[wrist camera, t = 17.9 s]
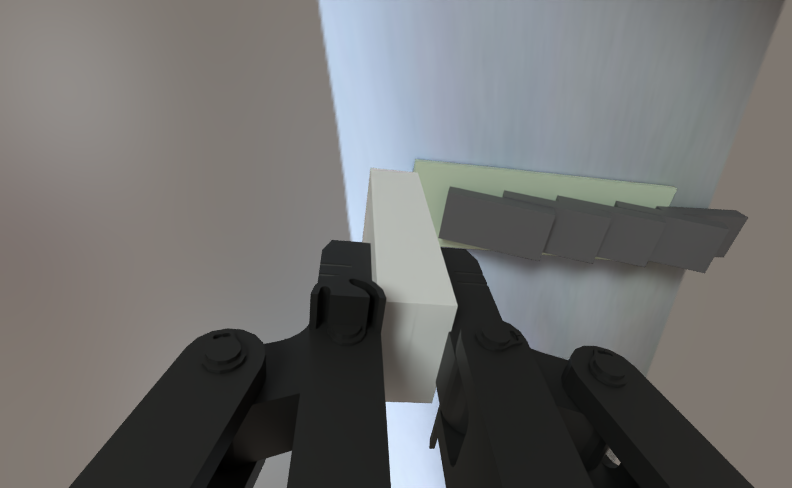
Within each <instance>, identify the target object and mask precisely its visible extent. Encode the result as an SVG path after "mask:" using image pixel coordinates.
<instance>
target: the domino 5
mask: <svg viewBox="0 0 792 488" xmlns="http://www.w3.org/2000/svg"><path fill="white" fill-rule="evenodd" d="M655 209H659V210H664V211H669V212H674V213H679V214H684V215H689V216H694V217H698V218H703V219H708V220H713V221H718V222H723V223H724V224H725V225H726V226H727V227H728V228H729V232H728V233H727V235H726V237H725V239H724V240H723V242H722V244H721V246H720V247H719V249H718V251H717V253H716V254H715V256H714V257H724V256H725V254H726V253H727V251H728V250H729V248H730V246H731V245H732V243H733V241H734V240H735V238H736V237H737V235H738V233H739V231H740V230H741V228H742V227H743V225H744V224H745V222H746V220H747V219H748V217H746V216H745V215H743V214H741V213H740V212H738V211H736V210H718V209H701V208H684V207H666V206H656V208H655Z"/></svg>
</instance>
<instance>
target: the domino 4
mask: <svg viewBox="0 0 792 488" xmlns="http://www.w3.org/2000/svg"><path fill="white" fill-rule="evenodd" d="M614 207H619V208H624V209H629V210H634V211H639V212H644V213H649V214H654V215H659V216H662V217H663V218H664V220H665V221H666V223H667V224H666V226H665V228H664V230H663V232H662V234H661V236H660V238H659V240H658V242H657V244H656V246H655V248H654V250H653V252H652V254H651V256H650V258H649V260H648V261H653V262H657V263H662V264H666V265H671V266H675V267H679V268H684V269H688V270H693V271H697V272H702V273H705V271H706V270H707V268H708V267H709V265H710V263H711V261H712V260H713V258H714V256H715V254H716V253H717V251H718V249H719V247H720V246H721V244H722V242H723V240H724V239H725V237H726V235H727V233H728V232H729V228H728V227H727V226H726V225H725V224H724V223H723V222H718V221H713V220H708V219H703V218H698V217H694V216H689V215H684V214H679V213H674V212H669V211H664V210H659V209H655V208H650V207H645V206H640V205H635V204H630V203H625V202H620V201H616V202H615V205H614Z"/></svg>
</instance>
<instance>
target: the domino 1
mask: <svg viewBox="0 0 792 488" xmlns="http://www.w3.org/2000/svg"><path fill="white" fill-rule="evenodd" d="M555 216H556V214H555V210H554V208H550V207H545V206H540V205H536V204H531V203H526V202H522V201H517V200H512V199H508V198H503V197H498V196H493V195H489V194H484V193H479V192H475V191H470V190H465V189H461V188H456V187H451V186H450V188H449V191H448V195H447V199H446V204H445V209H444V213H443V218H442V223H441V227H440V232H439V237H438V238H440V239H444V240H449V241H453V242H458V243H462V244H466V245H471V246H475V247H479V248H484V249H488V250H492V251H497V252H501V253H506V254H510V255H514V256H519V257H523V258H527V259H532V260H536V261H540V258H541V255H542V252H543V250H544V247H545V244H546V241H547V239H548V236H549V233H550V230H551V228H552V225H553V222H554V219H555Z"/></svg>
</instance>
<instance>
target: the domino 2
mask: <svg viewBox="0 0 792 488" xmlns="http://www.w3.org/2000/svg"><path fill="white" fill-rule="evenodd" d="M502 197H503V198H508V199H512V200H517V201H522V202H526V203H531V204H536V205H540V206H545V207H550V208H554V210H555V214H556V216H555V219H554V222H553V225H552V228H551V230H550V233H549V236H548V239H547V241H546V244H545V247H544V250H543V252H542V253H547V254H551V255H556V256H560V257H565V258H569V259H574V260H578V261H583V262H587V263H592V264H593V262H594V259H595V257H596V255H597V252H598V250H599V248H600V245H601V243H602V241H603V239H604V236H605V234H606V232H607V229H608V227H609V225H610V222H611V220H612V218H611V216H610V214H609V212H608V211H603V210H598V209H593V208H588V207H583V206H578V205H574V204H569V203H564V202H559V201H554V200H549V199H545V198H540V197H535V196H530V195H525V194H520V193H515V192H511V191H506V190H504V193H503V196H502Z"/></svg>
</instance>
